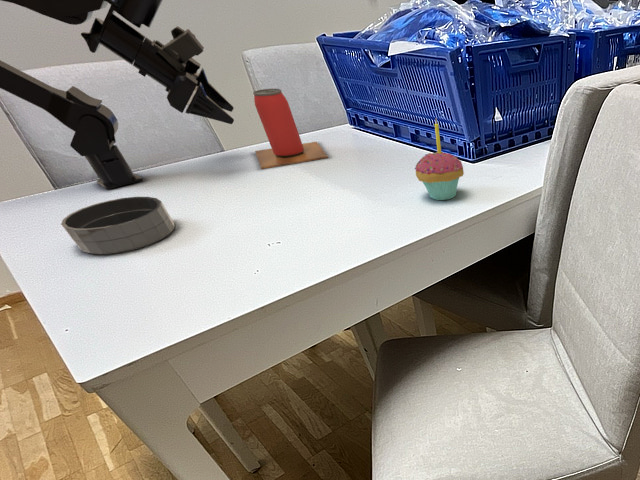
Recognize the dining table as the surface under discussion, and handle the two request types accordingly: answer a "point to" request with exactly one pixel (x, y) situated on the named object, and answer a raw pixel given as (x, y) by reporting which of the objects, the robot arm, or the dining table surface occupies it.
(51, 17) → the robot arm
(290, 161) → the cork mat
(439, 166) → the cupcake
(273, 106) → the beer can
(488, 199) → the dining table surface
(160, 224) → the pan
